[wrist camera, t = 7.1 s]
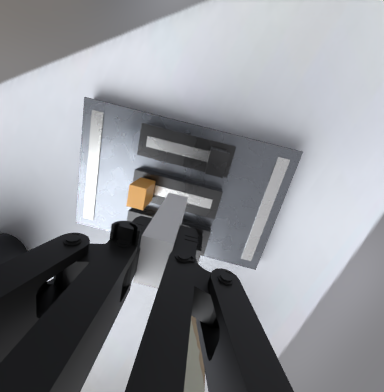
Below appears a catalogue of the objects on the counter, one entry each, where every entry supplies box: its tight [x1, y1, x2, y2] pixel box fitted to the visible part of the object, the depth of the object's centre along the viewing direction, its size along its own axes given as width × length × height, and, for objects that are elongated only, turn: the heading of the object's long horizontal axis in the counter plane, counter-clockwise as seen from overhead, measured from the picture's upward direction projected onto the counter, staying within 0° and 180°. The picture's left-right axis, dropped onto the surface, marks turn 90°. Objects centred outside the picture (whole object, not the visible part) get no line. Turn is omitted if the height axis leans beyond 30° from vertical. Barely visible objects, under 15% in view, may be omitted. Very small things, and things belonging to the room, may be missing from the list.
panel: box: [76, 97, 303, 270], centre depth 21 cm, size 14×22×6 cm, turn 76°
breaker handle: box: [126, 177, 156, 210], centre depth 19 cm, size 2×2×3 cm
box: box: [184, 316, 205, 392], centre depth 24 cm, size 5×4×11 cm
